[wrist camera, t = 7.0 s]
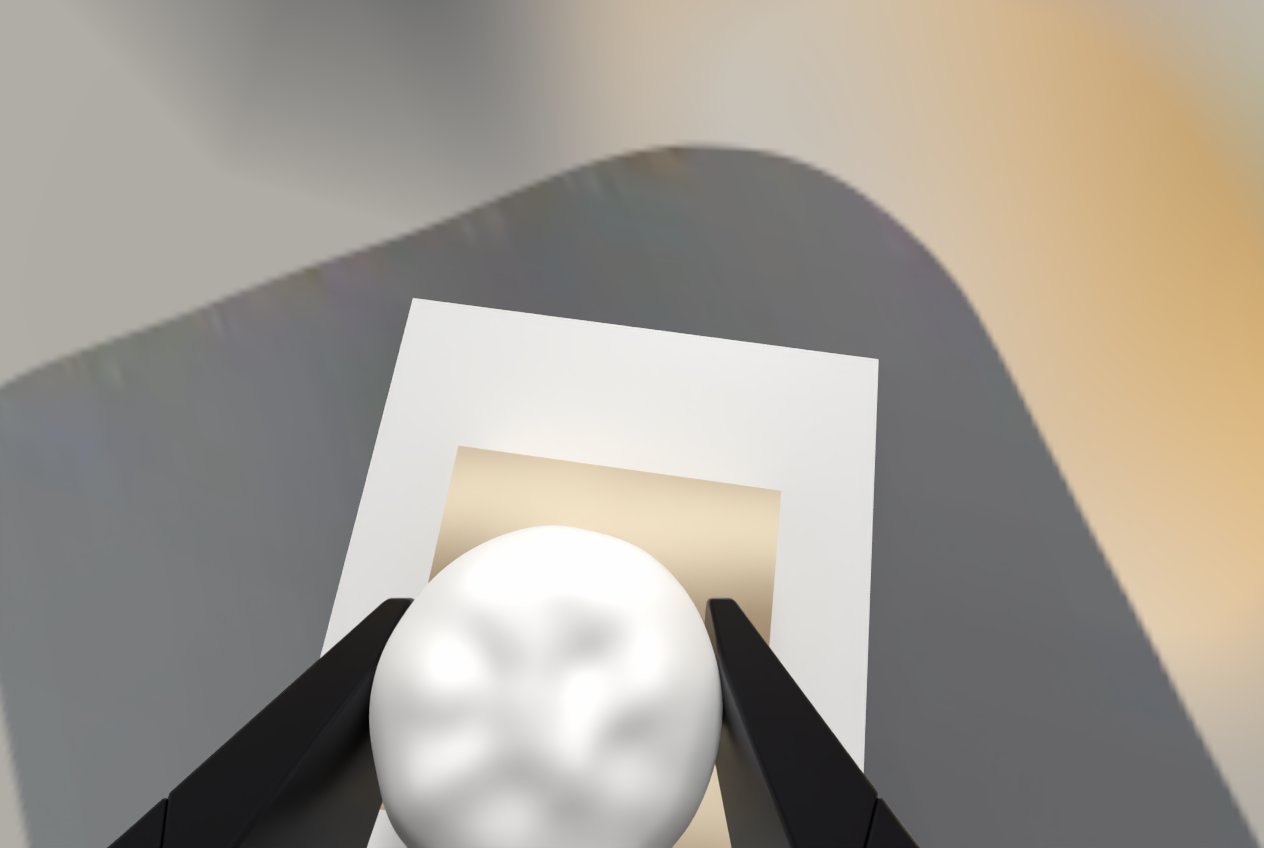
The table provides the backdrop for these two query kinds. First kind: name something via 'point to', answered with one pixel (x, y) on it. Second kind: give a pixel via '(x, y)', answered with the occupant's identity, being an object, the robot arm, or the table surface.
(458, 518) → the plinth
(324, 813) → the robot arm
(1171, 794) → the table surface
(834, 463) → the baseplate
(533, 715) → the milkshake
